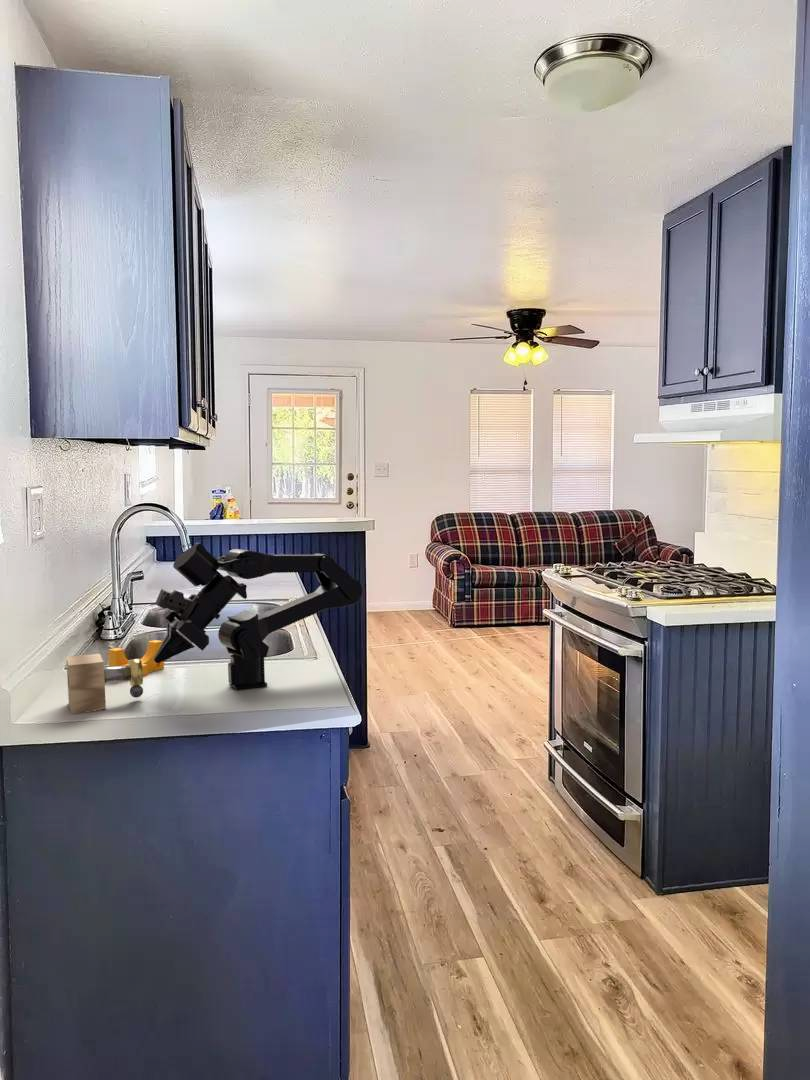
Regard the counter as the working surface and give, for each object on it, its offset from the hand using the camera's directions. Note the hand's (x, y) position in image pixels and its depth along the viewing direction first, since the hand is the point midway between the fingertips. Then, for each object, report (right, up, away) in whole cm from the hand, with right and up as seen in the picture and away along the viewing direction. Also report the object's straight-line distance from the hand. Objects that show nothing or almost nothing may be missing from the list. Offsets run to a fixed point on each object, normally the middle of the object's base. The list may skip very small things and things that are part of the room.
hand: (155, 661), depth 162 cm
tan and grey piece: (-7, -7, -3) cm, 10 cm away
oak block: (-11, -8, -5) cm, 15 cm away
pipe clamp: (-10, -6, +21) cm, 24 cm away
